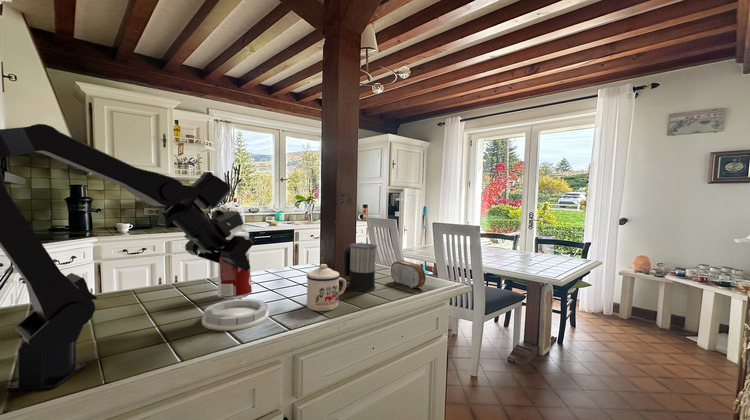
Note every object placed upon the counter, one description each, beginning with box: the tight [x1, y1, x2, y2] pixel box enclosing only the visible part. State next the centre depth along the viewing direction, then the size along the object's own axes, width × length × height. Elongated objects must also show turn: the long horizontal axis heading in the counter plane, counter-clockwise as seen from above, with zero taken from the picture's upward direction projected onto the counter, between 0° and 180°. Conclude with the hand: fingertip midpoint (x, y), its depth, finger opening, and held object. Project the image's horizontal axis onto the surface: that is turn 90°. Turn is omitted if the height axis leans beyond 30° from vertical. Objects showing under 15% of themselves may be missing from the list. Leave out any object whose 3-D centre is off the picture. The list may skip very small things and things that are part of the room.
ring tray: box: [201, 298, 270, 332], centre depth 77 cm, size 15×15×2 cm
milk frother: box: [338, 242, 378, 292], centre depth 105 cm, size 14×16×15 cm
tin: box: [390, 259, 426, 289], centre depth 112 cm, size 15×3×8 cm, turn 40°
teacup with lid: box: [306, 263, 347, 312], centre depth 88 cm, size 12×9×12 cm
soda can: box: [219, 251, 253, 301], centre depth 77 cm, size 7×7×12 cm
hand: (240, 267), depth 78 cm, fingers closed on soda can, 7 cm apart
